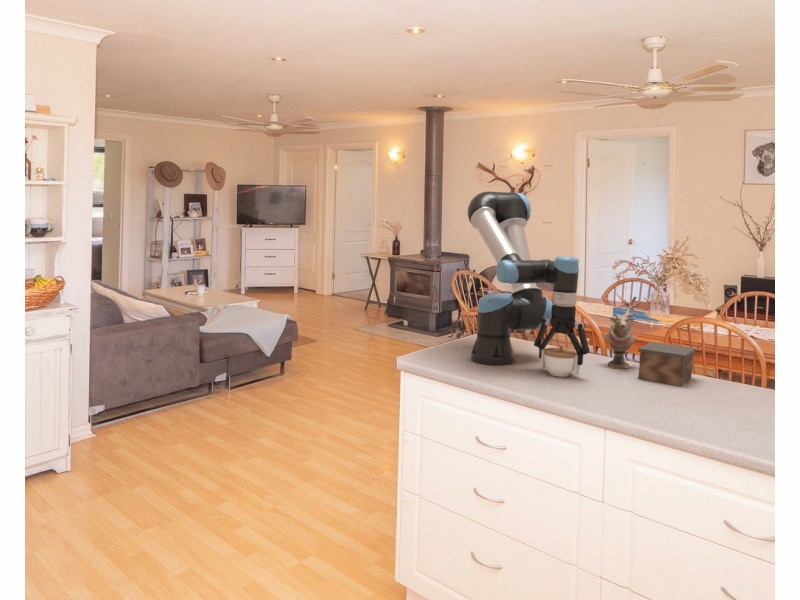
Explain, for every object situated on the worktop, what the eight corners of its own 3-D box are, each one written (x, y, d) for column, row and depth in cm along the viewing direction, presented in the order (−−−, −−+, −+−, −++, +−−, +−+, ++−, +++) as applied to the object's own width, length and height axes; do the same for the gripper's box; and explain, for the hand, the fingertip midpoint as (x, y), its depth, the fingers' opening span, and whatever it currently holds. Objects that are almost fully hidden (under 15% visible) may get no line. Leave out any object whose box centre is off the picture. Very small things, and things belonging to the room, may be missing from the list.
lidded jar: (549, 368, 215) (551, 341, 213) (581, 373, 209) (582, 345, 207) (537, 374, 206) (539, 346, 204) (569, 380, 200) (571, 351, 198)
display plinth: (636, 378, 204) (638, 348, 203) (649, 370, 215) (651, 341, 214) (682, 387, 196) (685, 355, 194) (693, 378, 207) (696, 348, 205)
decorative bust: (618, 370, 210) (624, 294, 210) (596, 365, 222) (601, 294, 222) (646, 371, 213) (651, 297, 213) (622, 367, 225) (627, 297, 225)
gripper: (525, 301, 208) (522, 367, 211) (595, 310, 194) (590, 380, 197) (535, 299, 214) (532, 363, 217) (603, 307, 200) (598, 375, 203)
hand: (559, 371), depth 207 cm, fingers closed on lidded jar, 11 cm apart
